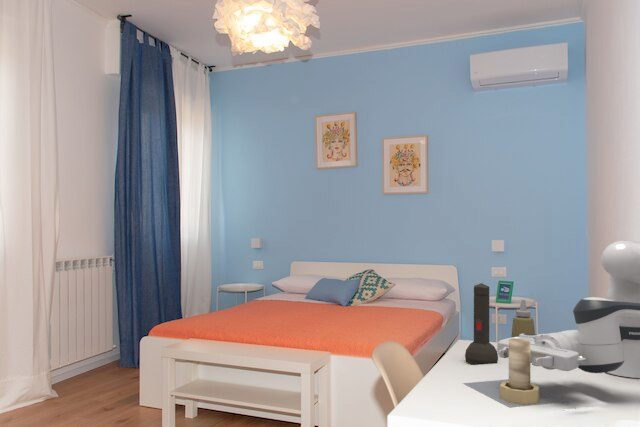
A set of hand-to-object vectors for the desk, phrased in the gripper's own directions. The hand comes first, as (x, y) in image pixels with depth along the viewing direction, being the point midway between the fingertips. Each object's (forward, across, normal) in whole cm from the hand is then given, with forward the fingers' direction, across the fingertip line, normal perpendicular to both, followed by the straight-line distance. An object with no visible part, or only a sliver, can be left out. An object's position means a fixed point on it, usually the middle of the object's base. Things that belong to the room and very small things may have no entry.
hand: (517, 358), depth 133 cm
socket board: (-4, +4, -11) cm, 12 cm away
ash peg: (-1, 0, -10) cm, 10 cm away
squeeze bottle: (-46, +31, -11) cm, 57 cm away
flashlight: (-24, +31, -11) cm, 41 cm away
